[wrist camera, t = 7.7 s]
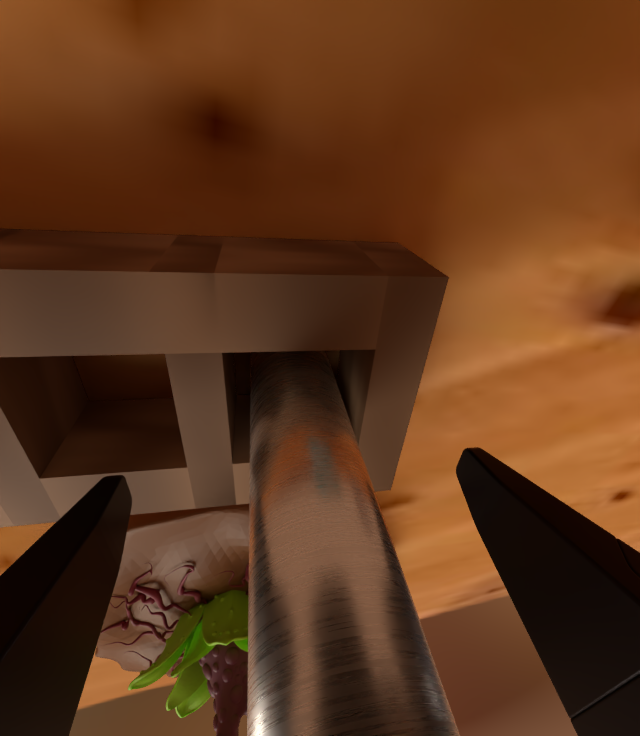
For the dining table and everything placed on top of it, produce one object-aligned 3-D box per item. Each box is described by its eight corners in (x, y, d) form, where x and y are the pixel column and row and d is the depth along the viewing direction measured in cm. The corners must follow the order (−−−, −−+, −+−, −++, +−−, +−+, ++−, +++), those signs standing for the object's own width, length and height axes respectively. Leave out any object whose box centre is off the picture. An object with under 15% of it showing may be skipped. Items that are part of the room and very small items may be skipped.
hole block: (-103, 453, 14) (-212, 547, 11) (-297, 218, 9) (-598, 258, 6) (364, 425, 18) (390, 489, 14) (398, 242, 13) (448, 277, 10)
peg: (252, 379, 15) (251, 835, 5) (249, 316, 13) (240, 800, 4) (319, 377, 16) (436, 787, 6) (324, 316, 14) (500, 738, 4)
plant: (354, 431, 18) (458, 721, 9) (388, 591, 29) (451, 798, 20) (-15, 533, 18) (-300, 947, 9) (159, 657, 29) (116, 900, 20)
